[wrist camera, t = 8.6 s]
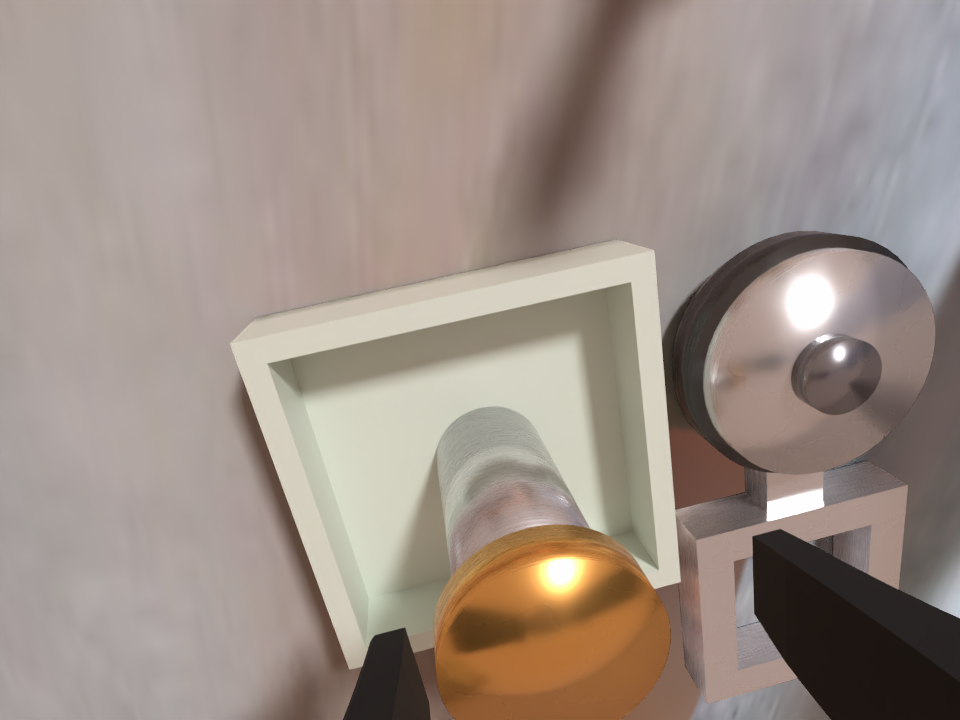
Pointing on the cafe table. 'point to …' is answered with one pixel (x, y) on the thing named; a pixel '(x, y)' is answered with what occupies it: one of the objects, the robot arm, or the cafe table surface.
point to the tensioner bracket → (793, 425)
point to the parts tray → (448, 395)
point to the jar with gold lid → (534, 588)
